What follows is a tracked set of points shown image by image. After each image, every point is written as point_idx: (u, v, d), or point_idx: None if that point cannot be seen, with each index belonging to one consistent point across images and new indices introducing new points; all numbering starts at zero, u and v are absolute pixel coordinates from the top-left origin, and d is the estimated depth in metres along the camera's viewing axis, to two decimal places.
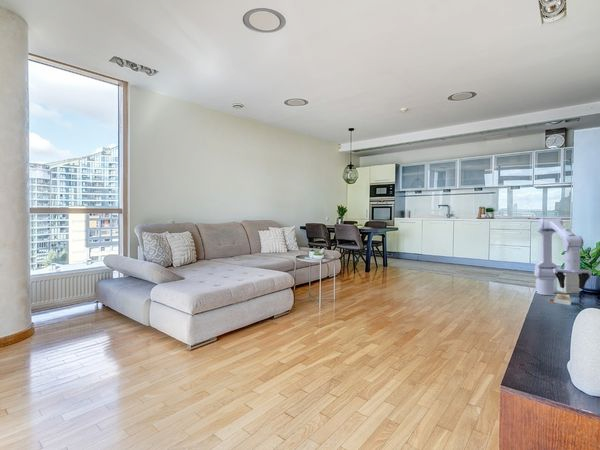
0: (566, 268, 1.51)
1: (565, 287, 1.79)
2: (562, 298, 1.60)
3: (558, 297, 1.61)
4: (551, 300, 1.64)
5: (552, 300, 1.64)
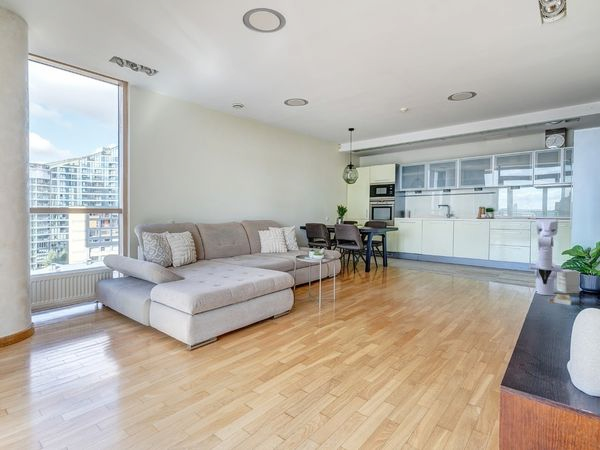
0: (538, 265, 1.67)
1: (565, 287, 1.79)
2: (562, 298, 1.60)
3: (558, 297, 1.61)
4: (551, 300, 1.64)
5: (552, 300, 1.64)
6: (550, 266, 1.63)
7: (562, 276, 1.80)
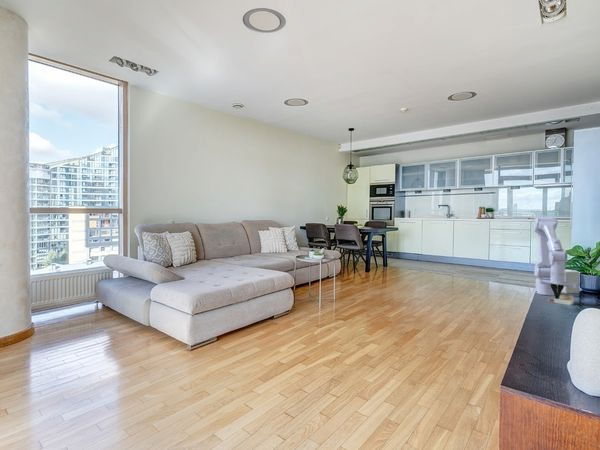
0: (550, 280, 1.63)
1: (565, 287, 1.79)
2: (566, 298, 1.59)
3: (562, 297, 1.60)
4: (551, 300, 1.64)
5: (552, 300, 1.64)
6: (562, 281, 1.60)
7: None
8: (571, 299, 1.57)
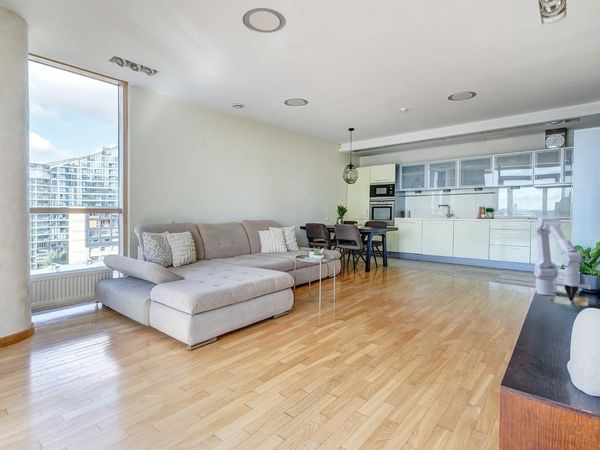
0: (564, 281, 1.60)
1: None
2: (580, 300, 1.55)
3: (576, 299, 1.56)
4: (551, 300, 1.64)
5: (552, 300, 1.64)
6: (577, 283, 1.56)
7: (562, 276, 1.80)
8: (586, 301, 1.54)
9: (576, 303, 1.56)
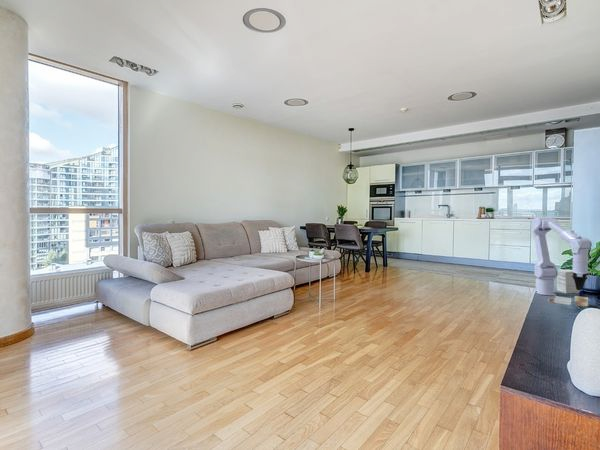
0: (582, 270, 1.53)
1: (565, 287, 1.79)
2: (580, 301, 1.55)
3: (576, 299, 1.56)
4: (551, 300, 1.64)
5: (552, 300, 1.64)
6: None
7: (562, 276, 1.80)
8: (586, 301, 1.54)
9: (576, 303, 1.56)
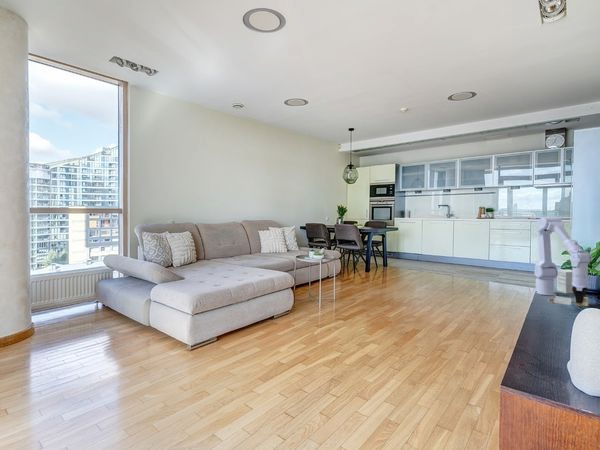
0: (582, 284, 1.54)
1: (565, 287, 1.79)
2: None
3: None
4: (551, 300, 1.64)
5: (552, 300, 1.64)
6: None
7: (562, 276, 1.80)
8: (586, 301, 1.53)
9: (576, 303, 1.56)
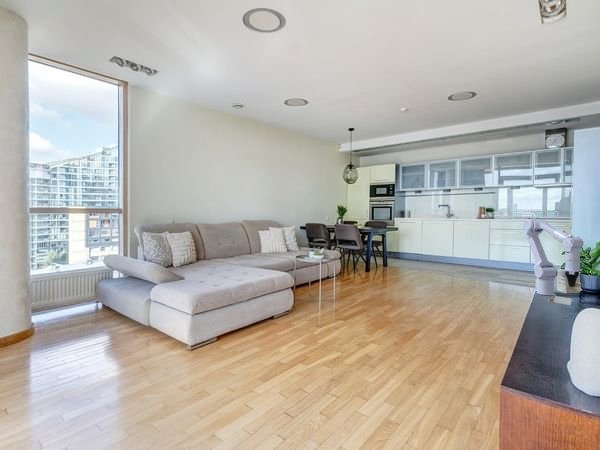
0: (574, 268, 1.59)
1: (565, 287, 1.79)
2: None
3: None
4: (551, 300, 1.64)
5: (552, 300, 1.64)
6: None
7: (562, 276, 1.80)
8: (579, 286, 1.59)
9: (569, 288, 1.61)
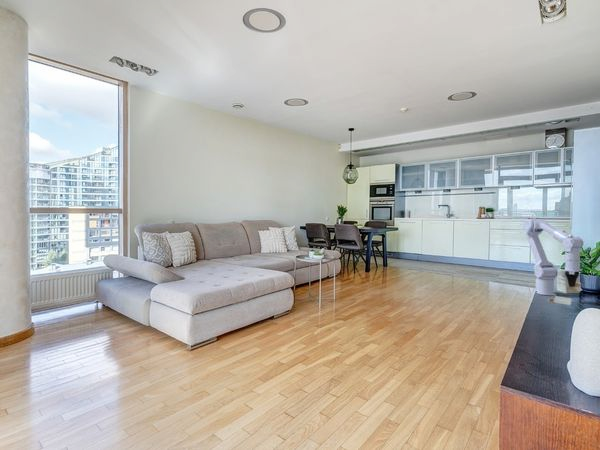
0: (574, 268, 1.59)
1: (565, 287, 1.79)
2: None
3: None
4: (551, 300, 1.64)
5: (552, 300, 1.64)
6: None
7: (562, 276, 1.80)
8: (579, 286, 1.59)
9: (569, 288, 1.61)
